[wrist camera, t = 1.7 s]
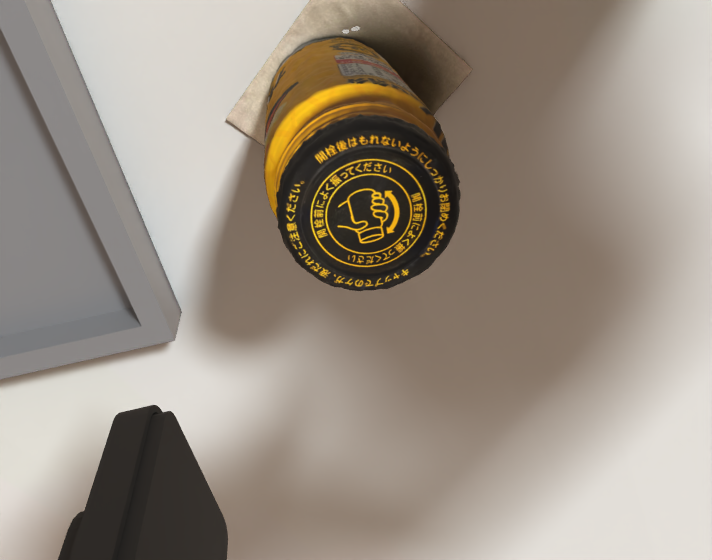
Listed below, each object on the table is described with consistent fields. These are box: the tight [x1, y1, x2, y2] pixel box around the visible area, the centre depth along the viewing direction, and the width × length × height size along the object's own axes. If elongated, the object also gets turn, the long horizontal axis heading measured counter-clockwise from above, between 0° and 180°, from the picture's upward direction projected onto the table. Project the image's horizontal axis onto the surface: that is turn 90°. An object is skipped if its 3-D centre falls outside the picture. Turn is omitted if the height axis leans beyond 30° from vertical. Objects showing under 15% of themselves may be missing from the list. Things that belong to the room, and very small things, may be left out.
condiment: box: [226, 0, 473, 291], centre depth 21 cm, size 7×8×12 cm
